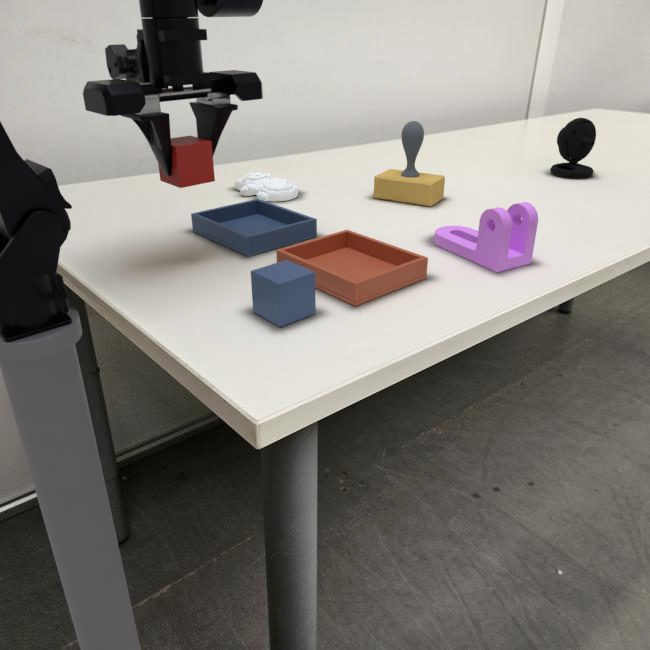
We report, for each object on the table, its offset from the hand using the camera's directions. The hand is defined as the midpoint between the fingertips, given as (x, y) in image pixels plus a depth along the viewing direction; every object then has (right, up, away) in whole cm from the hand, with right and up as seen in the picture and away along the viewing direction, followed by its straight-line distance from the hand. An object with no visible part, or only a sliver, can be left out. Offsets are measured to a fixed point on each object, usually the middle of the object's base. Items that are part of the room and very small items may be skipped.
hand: (187, 172), depth 69 cm
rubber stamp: (+29, +3, +29) cm, 41 cm away
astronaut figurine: (+6, +4, +32) cm, 33 cm away
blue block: (+12, -16, -8) cm, 22 cm away
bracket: (+35, -8, +8) cm, 36 cm away
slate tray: (+6, -5, +13) cm, 16 cm away
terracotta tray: (+19, -12, +1) cm, 22 cm away
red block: (0, -1, 0) cm, 1 cm away
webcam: (+61, +10, +44) cm, 76 cm away
